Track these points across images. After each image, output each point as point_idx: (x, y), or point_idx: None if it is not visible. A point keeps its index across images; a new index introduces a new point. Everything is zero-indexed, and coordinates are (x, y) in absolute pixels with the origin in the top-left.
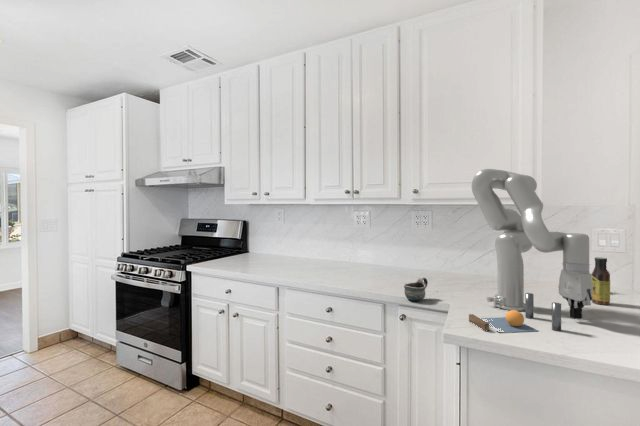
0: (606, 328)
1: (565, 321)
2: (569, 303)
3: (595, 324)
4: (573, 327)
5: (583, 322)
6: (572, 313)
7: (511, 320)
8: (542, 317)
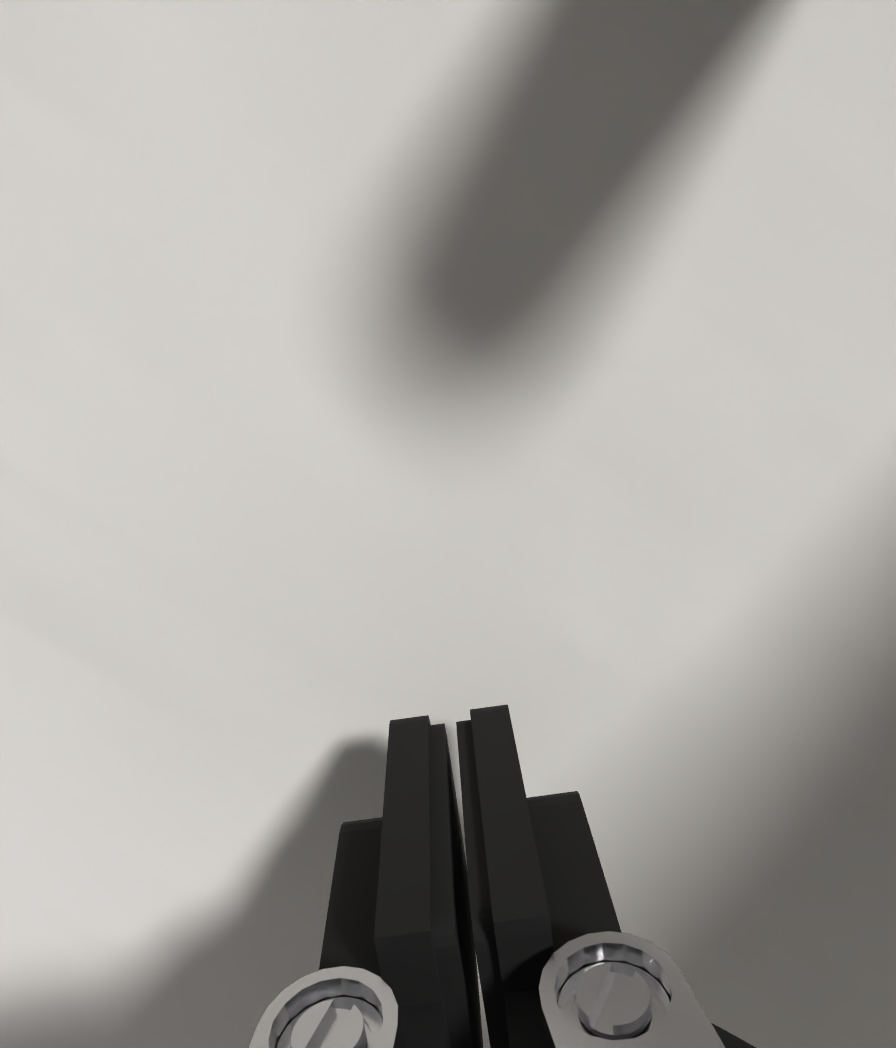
0: (110, 1035)
1: (499, 547)
2: (664, 1034)
3: None
4: (68, 453)
5: None
6: (446, 789)
7: None
8: (836, 137)
